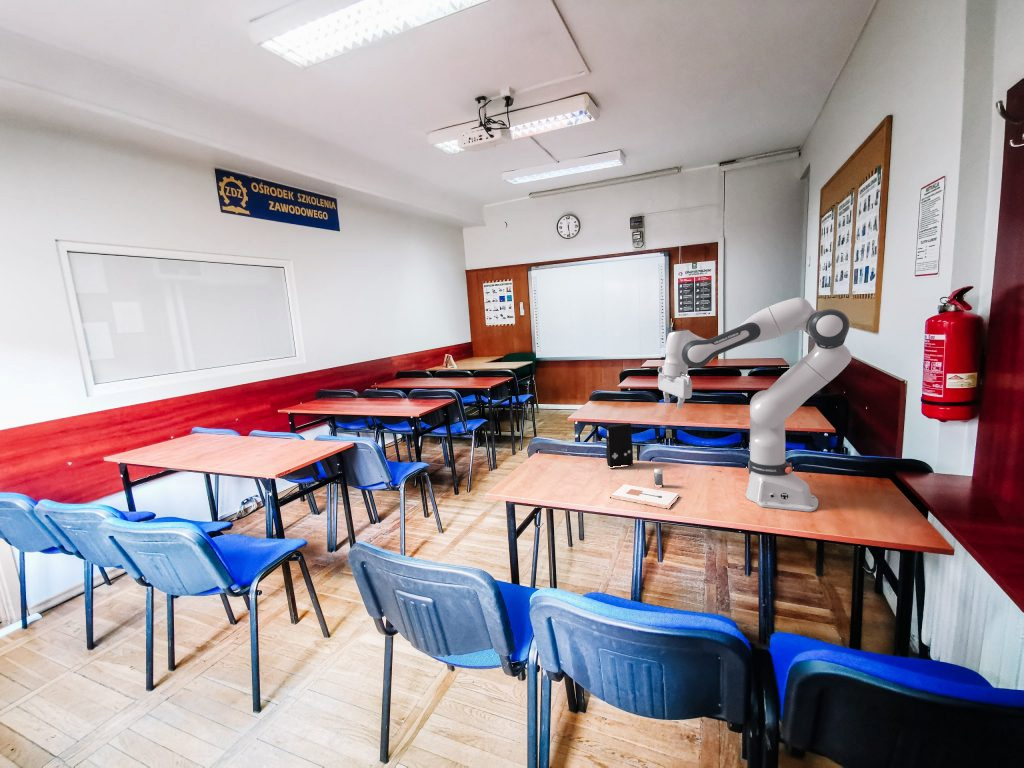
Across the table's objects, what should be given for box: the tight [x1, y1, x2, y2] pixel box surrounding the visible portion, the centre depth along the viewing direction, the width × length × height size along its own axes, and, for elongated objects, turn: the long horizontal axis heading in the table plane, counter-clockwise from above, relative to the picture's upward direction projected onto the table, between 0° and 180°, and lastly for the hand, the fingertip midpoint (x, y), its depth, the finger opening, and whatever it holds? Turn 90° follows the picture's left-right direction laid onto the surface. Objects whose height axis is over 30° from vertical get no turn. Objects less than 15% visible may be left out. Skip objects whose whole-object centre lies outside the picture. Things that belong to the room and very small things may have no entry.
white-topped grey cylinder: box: [653, 468, 664, 486], centre depth 180 cm, size 3×3×7 cm
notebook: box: [611, 483, 679, 506], centre depth 171 cm, size 23×13×1 cm, turn 52°
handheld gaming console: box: [605, 422, 634, 467], centre depth 207 cm, size 12×5×20 cm, turn 105°
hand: (672, 405), depth 176 cm, fingers open, 8 cm apart
